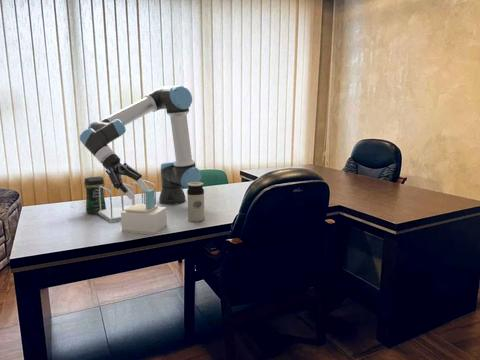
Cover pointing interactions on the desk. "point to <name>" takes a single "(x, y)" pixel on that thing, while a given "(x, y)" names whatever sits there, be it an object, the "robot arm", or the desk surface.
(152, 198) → the flap
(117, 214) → the file sorter
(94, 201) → the coffee jar
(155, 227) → the carton
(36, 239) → the desk surface
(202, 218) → the dark labelled jar
